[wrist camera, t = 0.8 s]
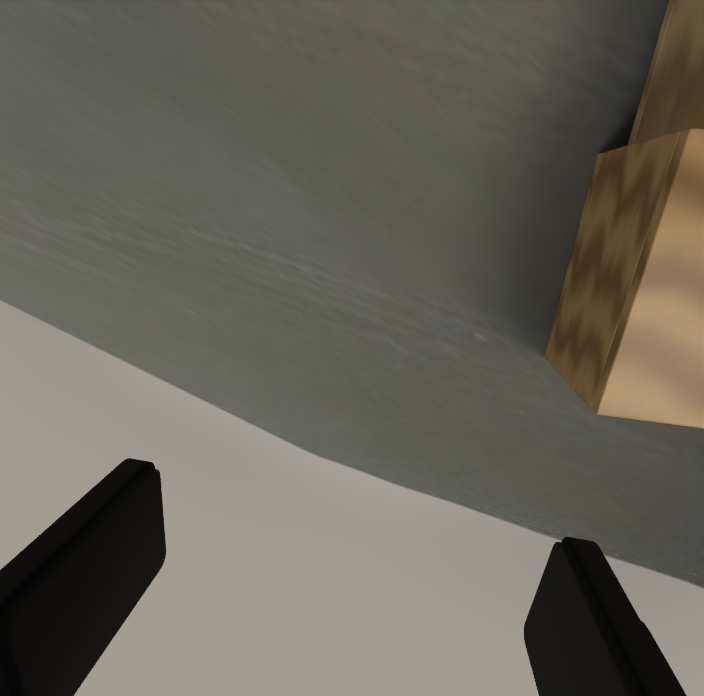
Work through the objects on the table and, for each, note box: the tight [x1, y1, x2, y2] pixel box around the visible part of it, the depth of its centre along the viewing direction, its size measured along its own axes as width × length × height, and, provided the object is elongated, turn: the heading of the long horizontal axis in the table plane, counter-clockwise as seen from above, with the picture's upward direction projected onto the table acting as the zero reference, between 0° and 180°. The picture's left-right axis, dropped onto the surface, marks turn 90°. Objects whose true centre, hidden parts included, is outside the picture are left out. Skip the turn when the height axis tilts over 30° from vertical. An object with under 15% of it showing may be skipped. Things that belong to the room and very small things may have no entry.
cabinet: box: [544, 128, 704, 428], centre depth 28 cm, size 17×14×11 cm
